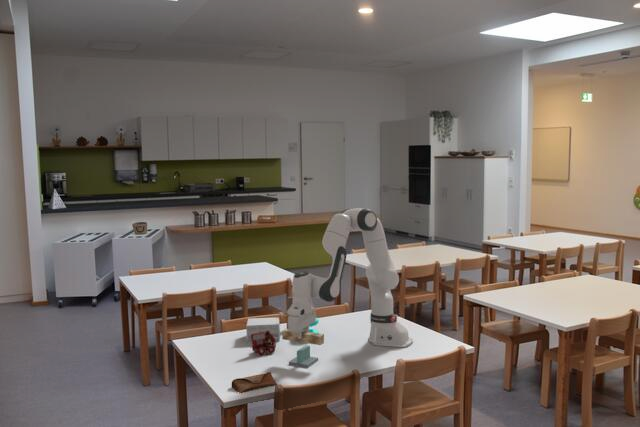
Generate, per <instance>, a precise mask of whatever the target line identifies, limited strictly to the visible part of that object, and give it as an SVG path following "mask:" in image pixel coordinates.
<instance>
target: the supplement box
mask: <svg viewBox="0 0 640 427" xmlns="http://www.w3.org/2000/svg"><path fill="white" fill-rule="evenodd" d="M280 324H281V322H280V317H279V316H277V317H259V318H256V317H254V318H247V322H246V326H245V327H246V328H245V329H246V343H252V339H251V335H252V334H254V333H260V332H265V333H266V331H270V334H272V335H273V337H274V339H275V340H276V342H280V341H281V340H280V339H281V328H280V327H281V326H280Z"/></svg>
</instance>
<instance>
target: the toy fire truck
mask: <svg viewBox="0 0 640 427" xmlns="http://www.w3.org/2000/svg"><path fill="white" fill-rule="evenodd" d="M251 339H252V342H251V343H252V345H251V347H252V352H254V353H256V354H257V355H258V356H261V357H262V356H263V355H265V353H268V354H269V355H271V354H274V353H275V351H276V348H277V341H276V340H275V339H274V337H273V335H272V334H270V331H266V333H265V332H260V333H254V334H252V335H251Z"/></svg>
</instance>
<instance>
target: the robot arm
mask: <svg viewBox="0 0 640 427" xmlns="http://www.w3.org/2000/svg"><path fill="white" fill-rule="evenodd" d="M351 231H352V232H358V231H359V232H361V233H362V238H363V240H362V241H363V245H364V248H365V249H364V250H365V254H366V257H367V259H368V262H369V263H370V264H368V266H367V267H366V268H365V276H366V278H367V283H368V289H369V294H370V300H371V302H370V307H371V309H370V310H371V312H370V316H369V320H370V331H369V336H368V341H369V342H370V343H371V344H372V345H374V346H378V347H379V346H380V347H391V348H392V347H393V348H406V347H410V345H412V344H413V342H414V338H412V337H410V336H409V331H408V329H407V328H406V327H405V326H404V325H403V324H401V322H399V321H398V315H399V314H397V313H396V314H395V313H394V297H393V294H392V291H391V290H393V289H394V288H396V287H398V285H399V283H400V276H399V274H398V273H397V270H396V269H395V265H394V263H393V260H392V258H391V254H390V252H389V248H388V243H387V239H386V234H385V229H384V227H383V224H382V222H381V220H380V219H379V218H378V216H377V215H376V213H375V212H374V211H373V210H372V209H369V208H363V207H362V208H361V207H356V208H347V209H344V210H341V212H340V213H336V214H334V215H333V216H332V218H331V219H330V222H329V223H328V224H327V227H326V229H325V232H324V234H323V237H322V241H321V242H322V247H323V249H324V251H325V252H327V253H328V254H329V255H330V257H331V259H332V263H331V265H330V266H331V267H330V271H329V275H328V277H321V276H318V275H314V274H312V273H310V272H309V271H306V270H303V271H298V272H296V273H294V275H293V277H292V285H291V289H292V290H291V291H292V297H293V304H292V305H291V307H290V308H289V309H288V311H286V314H288V315H289V316H288V320H287V323H288V330H289V332H292V333H297V335H298V339H302V338H303V334H301V332H302V330H304V332H308V329H310V327H309V325H310V324H312V323H314V322H315V320H316V318H317V316H316V309H315V306H314V304H313V298H316V299H320V300H323V301H325V302H327V303H331V302H334V301H335V300H336V299H338V297H339V296H340V294H341V285H342V284H341V283H342V278H343V273H344V271H345V264H346V261H347V253H348V252H347V250H346V244H347V241H348V239H349V234H350V232H351Z"/></svg>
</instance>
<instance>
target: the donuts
mask: <svg viewBox="0 0 640 427" xmlns="http://www.w3.org/2000/svg"><path fill="white" fill-rule="evenodd" d="M319 320H320V319H318V317H316V320H315V322H314V323H312V324H310V325H309V329H308V332H311V333H318V334H320V333H319V331H318V330H317V329H315V328H310V327H314V326H315V327H316V325H318V323H319ZM302 331H304V329H302Z"/></svg>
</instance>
